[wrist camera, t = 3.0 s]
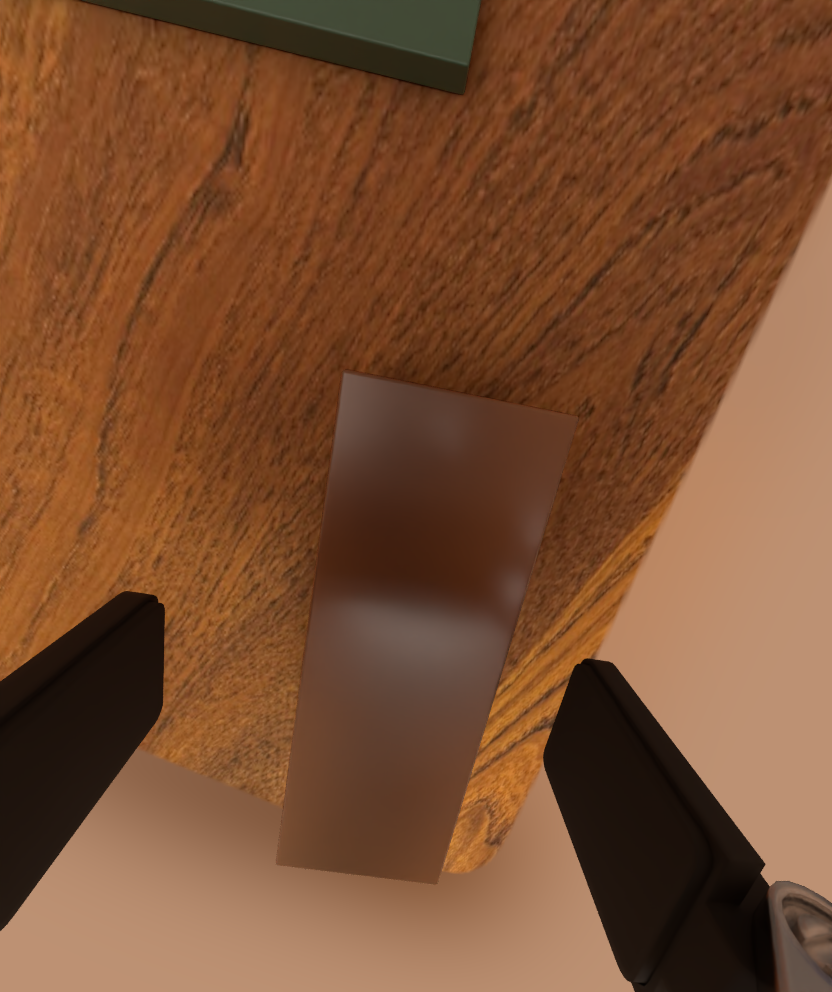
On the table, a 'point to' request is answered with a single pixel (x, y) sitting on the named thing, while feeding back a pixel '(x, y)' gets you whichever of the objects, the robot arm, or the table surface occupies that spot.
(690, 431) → the table surface
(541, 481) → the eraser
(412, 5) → the chalkboard
